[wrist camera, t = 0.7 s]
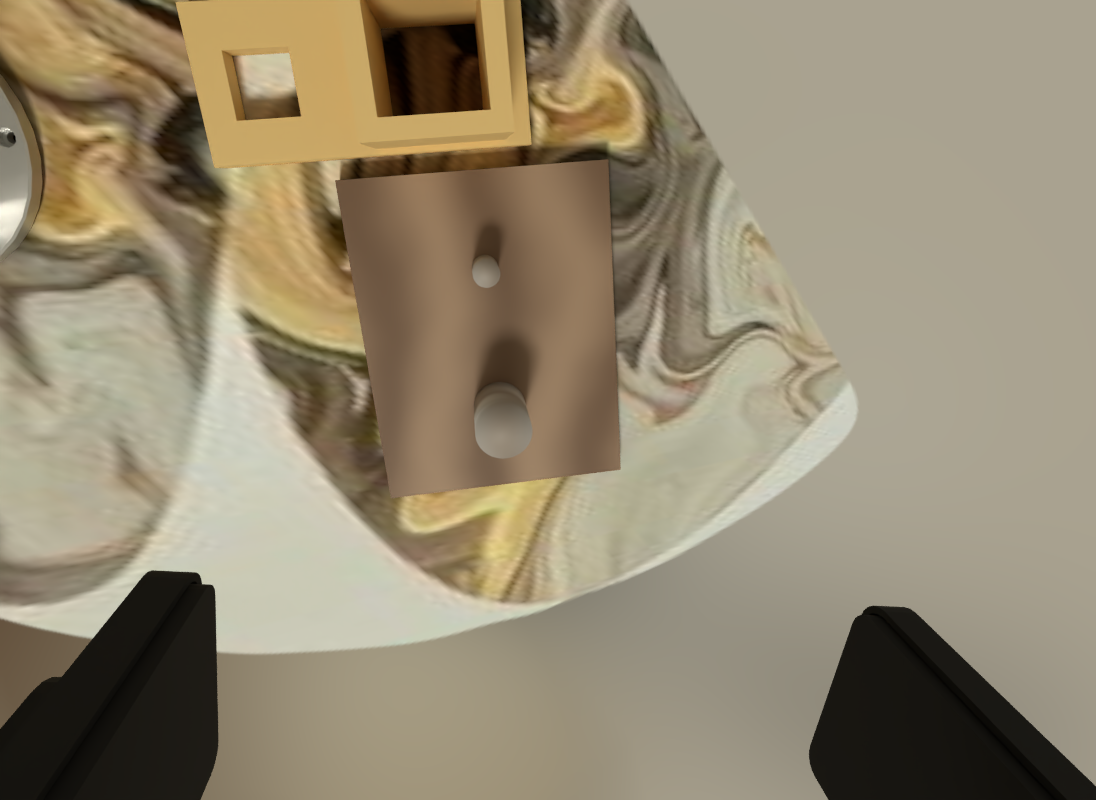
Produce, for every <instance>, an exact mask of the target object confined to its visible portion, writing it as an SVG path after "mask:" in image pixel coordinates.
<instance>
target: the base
mask: <svg viewBox="0 0 1096 800" xmlns="http://www.w3.org/2000/svg"><path fill="white" fill-rule="evenodd" d="M335 182H336V188H337V193H338V199H339V205H340V210H341V216H342V222H343V227H344V233H345V239H346V244H347V250H348V256H349V261H350V267H351V273H352V278H353V284H354V290H355V296H356V301H357V307H358V313H359V318H360V324H361V330H362V335H363V341H364V347H365V352H366V358H367V364H368V369H369V375H370V381H371V386H372V392H373V398H374V403H375V409H376V415H377V420H378V426H379V432H380V438H381V443H382V449H383V455H384V460H385V466H386V472H387V477H388V483H389V489H390V494H391V498H396V497H404V496H412V495H420V494H428V493H436V492H444V491H452V490H460V489H469V488H477V487H485V486H493V485H501V484H509V483H517V482H525V481H533V480H541V479H549V478H557V477H565V476H573V475H581V474H589V473H597V472H605V471H613V470H620V445H619V419H618V394H617V369H616V343H615V318H614V293H613V268H612V242H611V217H610V192H609V166H608V159H606V160H593V161H580V162H567V163H554V164H541V165H529V166H516V167H503V168H490V169H477V170H464V171H451V172H438V173H425V174H413V175H400V176H387V177H374V178H361V179H348V180H335Z"/></svg>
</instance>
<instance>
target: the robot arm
mask: <svg viewBox="0 0 1096 800" xmlns="http://www.w3.org/2000/svg"><path fill="white" fill-rule="evenodd" d="M13 135H15V136H16V142H15V141H14V140H13ZM42 183H43V182H42V169H41V157H40V153H39V149H38V146H37V142H36V138H35V135H34V131H33V129H32V126H31V124H30V122H29V120H28V118H27V116H26V113H25V111H24V109H23V107H22V105H21V103H20V101H19V100H18V98H17V97H16V95H15V94H14V93H13V91H12V90H11V88H10V87H9V85H8V84H7V82H6V81H5V79H4V78H3V76H2V75H1V74H0V262H2V261H3V260H4V259H5V258H6V257H8V256H9V255H10V254H11V253H12V252H13V251H14V250H15V249H17V248H18V247H19V245H20V244H21V242H22V241H23V240H24V238H25V237H26V235H27V234H28V232H29V231H30V229H31V228H32V225H33V222H34V220H35V217H36V214H37V212H38V209H39V206H40V198H41V191H42ZM217 750H218V704H217V654H216V607H215V589H214V587H213V586H212V585H205V584H202V582H201V578H200V575H199V574H198V573H193V572H173V571H149V572H147V573H146V574H145V575H144V576H143V577H142V578H141V580H140V581H139V582H138V583H137V585H136V586H135V587H134V588H133V590H132V591H131V592H130V593H129V595H128V596H127V597H126V598H125V600H124V601H123V602H122V603H121V604H120V606H119V607H118V608H117V609H116V611H115V612H114V613H113V614H112V616H111V617H110V618H109V619H108V621H107V622H106V623H105V624H104V625H103V627H102V628H101V629H100V630H99V632H98V633H97V634H96V635H95V637H94V638H93V639H92V640H91V642H90V643H89V644H88V645H87V646H86V648H85V649H84V650H83V651H82V653H81V654H80V655H79V657H78V658H77V659H76V660H75V661H74V663H73V664H72V665H71V666H70V668H69V669H68V670H67V671H66V672H65V674H64V675H63V676H62V677H51V678H49V679H47V680H45V681H43V682H42V683H41V684H40V685H39V686H37V687H36V688H35V690H33V692H31V693H30V695H29V696H28V697H27V698H26V699H25V700H24V702H23V703H22V704H21V705H20V707H19V708H18V709H17V710H16V711H15V712H14V713H13V715H12V716H11V717H10V718H9V719H8V721H7V722H6V723H5V724H4V726H3V727H2V728H1V729H0V800H200V799H201V797H202V795H203V792H204V790H205V787H206V785H207V783H208V780H209V778H210V776H211V773H212V770H213V768H214V764H215V760H216V756H217ZM809 759H810V765H811V768H812V771H813V773H814V776H815V777H816V779H817V781H818V783H819V784H820V786H821V788H822V789H823V791H824V793H825V795H826V796H827V798H828V800H1096V786H1095V785H1094V784H1093V783H1092V782H1091V781H1090V780H1089V779H1088V778H1087V777H1086V776H1084V775H1083V774H1082V773H1081V772H1080V771H1079V770H1078V769H1077V768H1076V767H1075V766H1074V765H1073V764H1072V763H1071V762H1070V761H1069V760H1068V759H1067V758H1066V757H1065V756H1064V755H1063V754H1062V753H1061V752H1060V751H1059V750H1058V749H1056V748H1055V747H1054V746H1053V745H1052V744H1051V743H1050V742H1049V741H1048V740H1047V739H1046V738H1045V737H1044V736H1043V735H1042V734H1041V733H1040V732H1039V731H1038V730H1037V729H1036V728H1035V727H1034V726H1033V725H1032V724H1031V723H1029V722H1028V721H1027V720H1026V719H1025V718H1024V717H1023V716H1022V715H1021V714H1020V713H1019V712H1018V711H1017V710H1016V709H1015V708H1014V707H1013V706H1012V705H1011V704H1010V703H1009V702H1008V701H1007V700H1006V699H1005V698H1004V697H1003V696H1001V695H1000V694H999V693H998V692H997V691H996V690H995V689H994V688H993V687H992V686H991V685H990V684H989V683H988V682H987V681H986V680H985V679H984V678H983V677H982V676H981V675H980V674H979V673H978V672H977V671H976V670H975V669H973V668H972V667H971V666H970V665H969V664H968V663H967V662H966V661H965V660H964V659H963V658H962V657H961V656H960V655H959V654H958V653H957V652H955V650H954V649H953V648H952V647H951V646H950V645H948V643H946V642H945V641H944V640H943V639H942V638H941V637H940V636H939V635H938V634H937V633H936V632H935V631H934V630H933V629H932V628H931V627H930V626H929V625H928V624H927V623H926V622H925V621H924V620H923V619H921V617H919V616H918V615H917V614H916V613H915V612H914V611H912V610H911V609H909V608H905V607H889V606H888V607H887V606H870V607H867V609H865V610H864V611H863V613H862V615H860V616H857V617H856V618H855V620H854V621H853V624H852V626H851V630H850V632H849V635H848V638H847V641H846V644H845V647H844V650H843V653H842V655H841V658H840V661H839V664H838V667H837V670H836V673H835V676H834V679H833V681H832V684H831V687H830V690H829V693H828V696H827V699H826V702H825V705H824V708H823V711H822V714H821V716H820V719H819V722H818V725H817V728H816V731H815V734H814V737H813V740H812V742H811V745H810V750H809Z"/></svg>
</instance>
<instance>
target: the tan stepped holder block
mask: <svg viewBox="0 0 1096 800" xmlns="http://www.w3.org/2000/svg"><path fill="white" fill-rule="evenodd" d="M176 6H177V10H178V14H179V19H180V23H181V27H182V31H183V36H184V40H185V44H186V48H187V53H188V57H189V61H190V65H191V70H192V74H193V78H194V82H195V87H196V91H197V95H198V99H199V104H200V108H201V112H202V117H203V121H204V125H205V129H206V134H207V138H208V142H209V146H210V151H211V155H212V159H213V163H214V168H234V167H248V166H261V165H275V164H288V163H301V162H315V161H328V160H342V159H355V158H369V157H382V156H395V155H409V154H422V153H436V152H449V151H462V150H476V149H489V148H503V147H516V146H529V145H531V132H530V119H529V106H528V93H527V80H526V67H525V54H524V41H523V28H522V15H521V2H520V0H207V1H187V2H176ZM474 23H475V31H476V41H477V51H478V61H479V72H480V82H481V92H482V102H483V110H479V111H464V112H449V113H435V114H420V115H406V116H393V111H392V104H391V97H390V90H389V83H388V76H387V69H386V62H385V55H384V48H383V41H382V34H381V29H385V28H403V27H421V26H438V25H456V24H474ZM274 53H290V59H291V64H292V69H293V75H294V80H295V85H296V91H297V96H298V101H299V107H300V112H301V116H300V117H286V118H271V119H256V120H246V118H245V113H244V109H243V104H242V99H241V95H240V90H239V85H238V81H237V76H236V71H235V67H234V62H233V57H232V56H240V55H257V54H274Z"/></svg>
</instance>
